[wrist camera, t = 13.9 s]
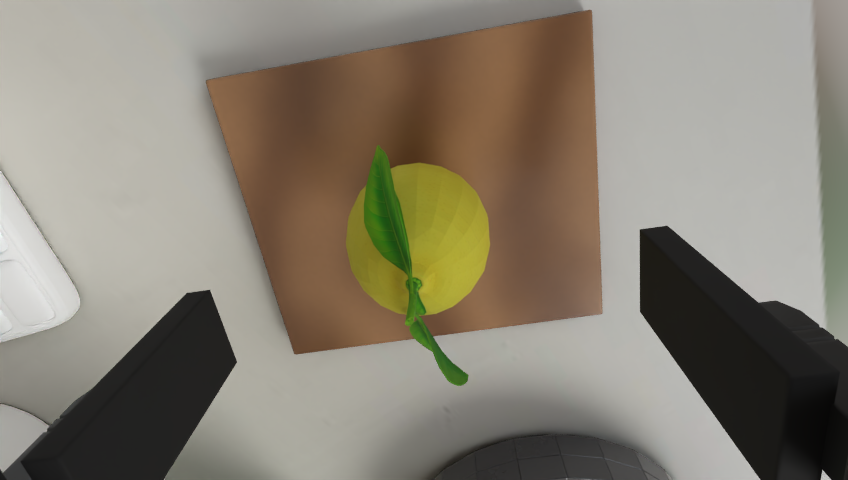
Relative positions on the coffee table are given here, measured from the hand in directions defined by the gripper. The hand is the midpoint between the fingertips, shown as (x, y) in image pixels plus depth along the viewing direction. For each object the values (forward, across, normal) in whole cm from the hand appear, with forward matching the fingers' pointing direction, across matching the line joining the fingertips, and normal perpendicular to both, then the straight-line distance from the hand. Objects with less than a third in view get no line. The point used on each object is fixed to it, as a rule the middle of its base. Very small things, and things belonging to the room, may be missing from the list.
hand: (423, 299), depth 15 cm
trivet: (+9, 0, 0) cm, 9 cm away
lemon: (+8, 0, 0) cm, 8 cm away
